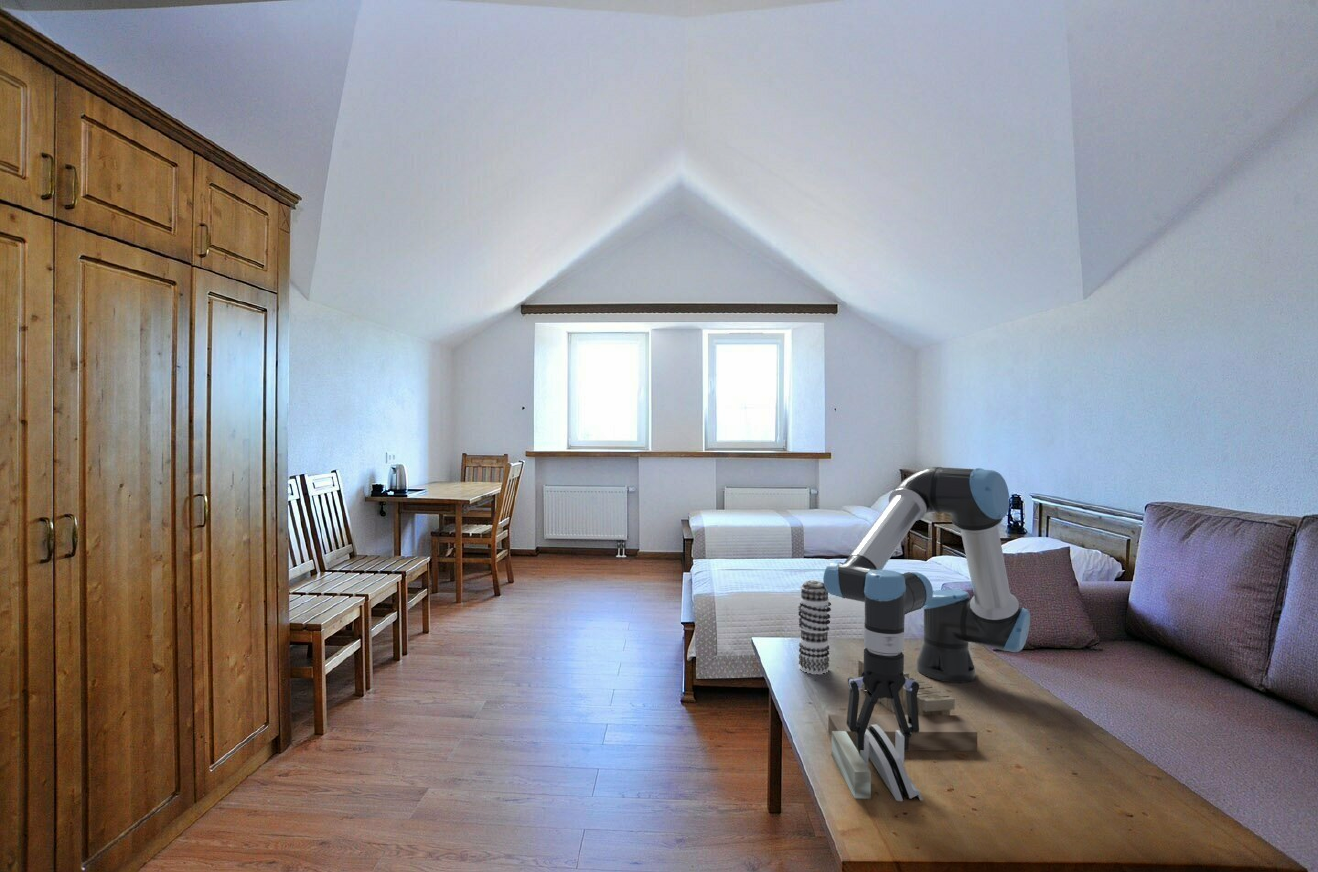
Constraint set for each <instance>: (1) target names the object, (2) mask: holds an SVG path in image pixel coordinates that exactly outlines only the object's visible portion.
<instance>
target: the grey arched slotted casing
mask: <svg viewBox="0 0 1318 872" xmlns="http://www.w3.org/2000/svg"><path fill="white" fill-rule="evenodd" d="M866 733H867V734H868V736H869V760H870V762H871V764H872V765H873V767H874V768H875V769H876V771H877V772H878V775H879V777H880V778H881V779H882V780H883V782H884V783H885V785H886V787H887V788H888V790H889V791H890V793H891V795H892V796H893V798H894V799H895V801H898V802H904V799H905V797H906V798H908V799H912V798H915V797H917V798H918V799H919V801H924V800H923V796H922V794H921V792H920V790H919V789H918V788H917V786H916V785H915V784H914V782H913V780H912V779H911V778H910V777H909V775H908V773H907V770H906V767H905V763H904V764H903V762H902V760H901V758H900V756H899V754H898V752H897V751H896V749H895V747H894V746H893V744H892V743H891V741H890V740H889V738H888V737H887V735H886V734H885V732H884V731H883V730H882V729H881V728H880V727H879V726H878V725H877V724H874V725H870V727H869V729H868V728H867V729H866ZM904 795H905V796H904Z"/></svg>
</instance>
